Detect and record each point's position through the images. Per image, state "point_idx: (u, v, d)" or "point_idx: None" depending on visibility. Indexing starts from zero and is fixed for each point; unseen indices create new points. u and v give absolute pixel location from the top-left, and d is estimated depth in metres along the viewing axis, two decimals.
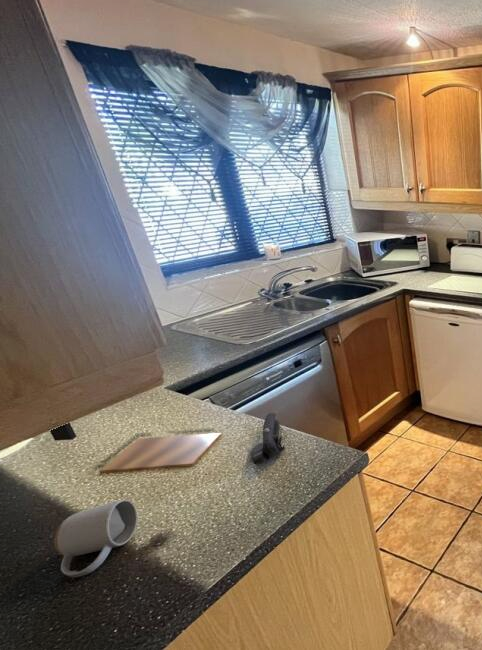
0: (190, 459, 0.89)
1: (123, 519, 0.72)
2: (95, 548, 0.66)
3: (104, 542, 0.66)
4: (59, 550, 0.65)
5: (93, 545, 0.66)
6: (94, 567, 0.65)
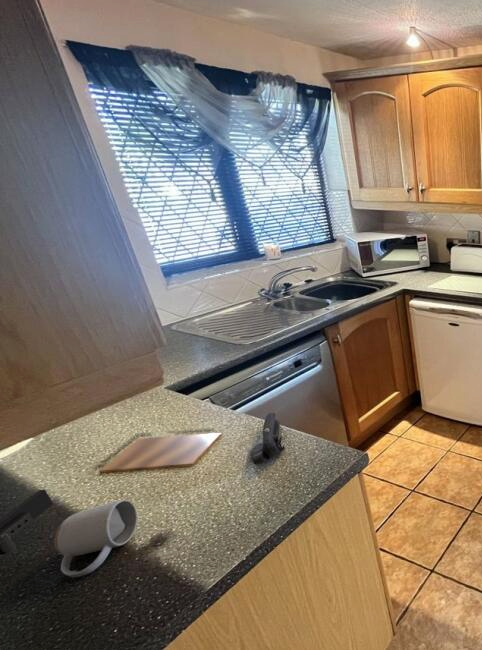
0: (190, 459, 0.89)
1: (123, 519, 0.72)
2: (95, 548, 0.66)
3: (104, 542, 0.66)
4: (59, 550, 0.65)
5: (93, 545, 0.66)
6: (94, 567, 0.65)
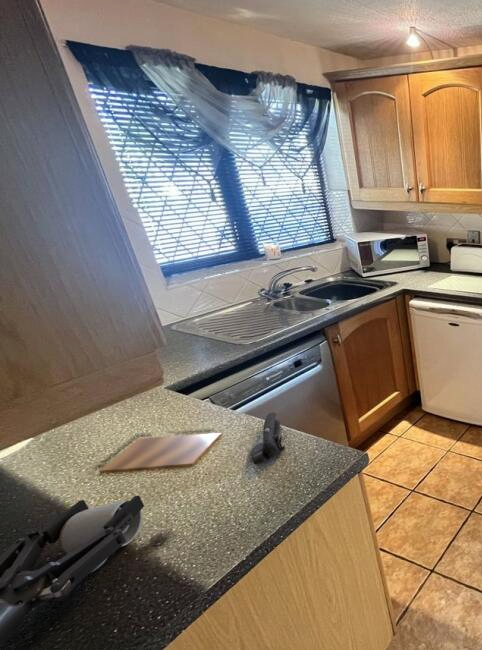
0: (190, 459, 0.89)
1: None
2: None
3: None
4: (63, 548, 0.65)
5: None
6: None
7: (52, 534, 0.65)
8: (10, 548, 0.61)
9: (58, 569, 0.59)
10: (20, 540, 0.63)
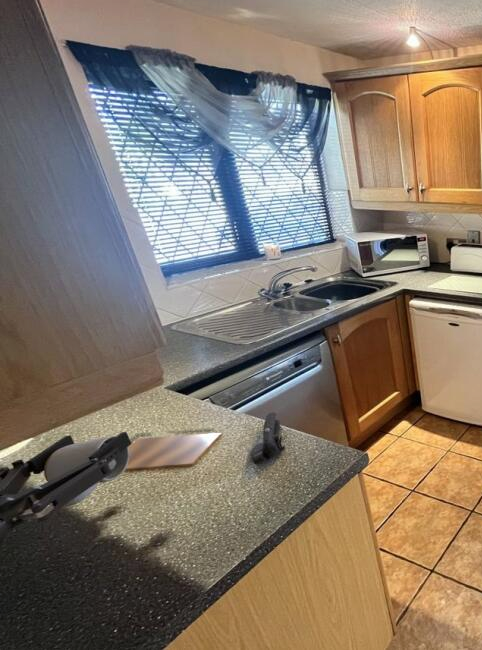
0: (190, 459, 0.89)
1: None
2: None
3: None
4: (48, 479, 0.64)
5: None
6: (80, 499, 0.64)
7: (37, 465, 0.64)
8: None
9: (41, 493, 0.58)
10: (4, 468, 0.62)
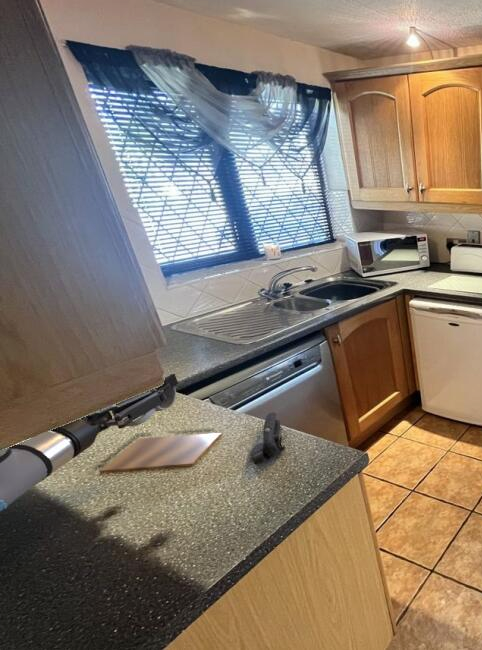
0: (190, 459, 0.89)
1: (165, 394, 0.91)
2: None
3: None
4: None
5: None
6: (142, 420, 0.83)
7: None
8: None
9: (118, 410, 0.77)
10: None
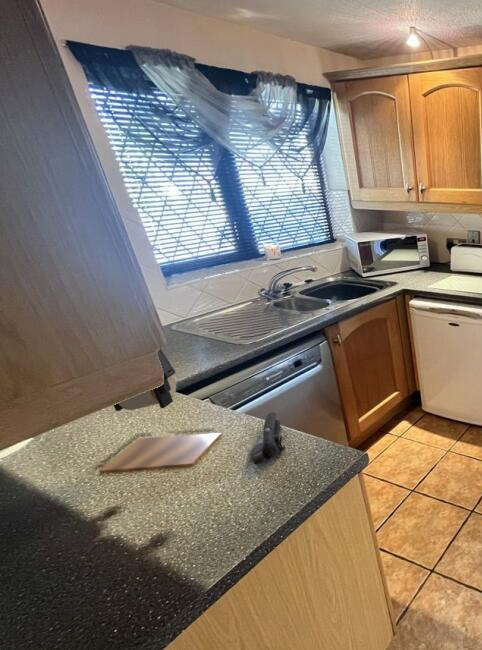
0: (190, 459, 0.89)
1: None
2: None
3: None
4: None
5: None
6: None
7: None
8: None
9: None
10: None
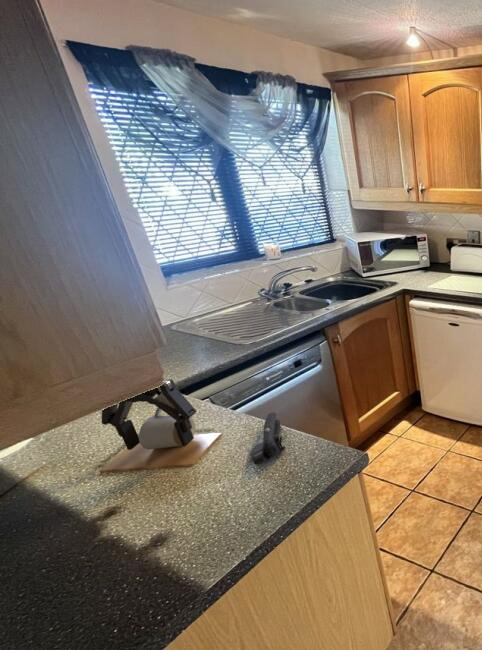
0: (190, 459, 0.89)
1: None
2: (163, 416, 0.93)
3: (152, 418, 0.92)
4: None
5: (159, 417, 0.92)
6: None
7: None
8: (183, 412, 0.88)
9: None
10: (185, 417, 0.88)
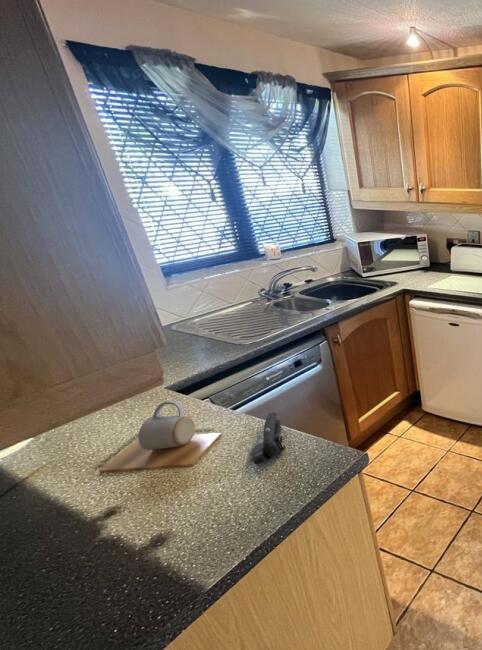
0: (190, 459, 0.89)
1: None
2: (162, 417, 0.93)
3: (150, 419, 0.91)
4: (178, 420, 0.92)
5: (158, 418, 0.92)
6: (161, 404, 0.93)
7: None
8: None
9: None
10: None
